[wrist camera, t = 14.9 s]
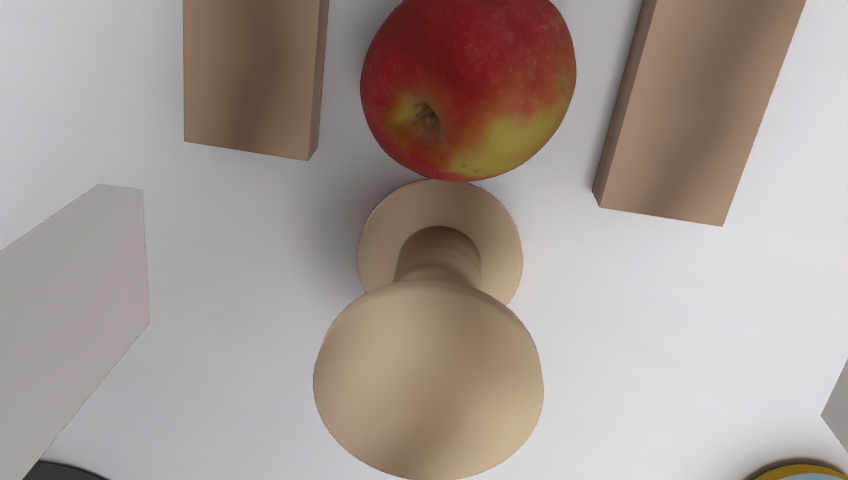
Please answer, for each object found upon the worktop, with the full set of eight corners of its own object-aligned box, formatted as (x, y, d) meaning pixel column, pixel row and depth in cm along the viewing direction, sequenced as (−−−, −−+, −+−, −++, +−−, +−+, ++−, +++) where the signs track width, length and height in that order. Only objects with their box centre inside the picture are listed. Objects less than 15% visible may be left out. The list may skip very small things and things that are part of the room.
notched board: (200, 129, 31) (184, 141, 29) (201, -198, 26) (181, -208, 24) (707, 209, 31) (722, 226, 29) (817, -99, 26) (843, -101, 24)
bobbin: (352, 310, 35) (305, 463, 25) (369, 166, 31) (322, 275, 21) (503, 334, 35) (517, 496, 25) (536, 192, 31) (568, 314, 21)
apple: (385, -45, 28) (355, -36, 20) (580, -18, 28) (619, 2, 20) (368, 132, 31) (337, 195, 24) (542, 157, 31) (565, 228, 23)
